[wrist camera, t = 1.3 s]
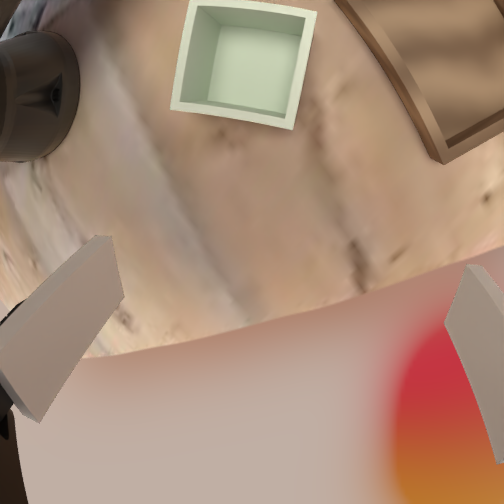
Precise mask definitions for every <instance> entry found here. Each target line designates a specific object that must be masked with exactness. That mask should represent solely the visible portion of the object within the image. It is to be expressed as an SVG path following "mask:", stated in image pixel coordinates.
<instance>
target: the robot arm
mask: <svg viewBox="0 0 504 504" xmlns="http://www.w3.org/2000/svg"><path fill="white" fill-rule="evenodd" d="M21 1H22V0H0V38H1V36H2V34H3V32H4V30H5V28H6V27H7V25H8V23H9V21H10V19H11V18H12V16H13V14H14V12H15V11H16V9H17V7H18V5H19V4H20V2H21ZM79 86H80V80H79V69H78V64H77V60H76V57H75V54H74V52H73V50H72V48H71V46H70V45H69V43H68V42H67V41H66V40H65V39H64V38H63V37H62V36H60V35H58V34H56V33H54V32H48V31H28V32H24V33H22V34H19V35H17V36H15V37H13V38H12V39H9V40H5V41H1V42H0V161H1V162H17V163H25V162H30V161H33V160H35V159H38V158H41V157H43V156H45V155H47V154H49V153H50V152H52V151H53V150H54V149H55V148H56V147H57V146H58V145H59V144H60V143H61V142H62V140H63V139H64V137H65V136H66V134H67V132H68V130H69V128H70V126H71V124H72V121H73V119H74V116H75V112H76V108H77V104H78V98H79ZM123 298H124V293H123V289H122V284H121V280H120V275H119V271H118V266H117V261H116V256H115V251H114V246H113V241H112V236H99V235H95V236H94V237H93V238H92V239H91V240H89V241H88V242H87V243H86V244H85V245H84V246H83V247H81V248H80V249H79V250H78V251H77V252H76V253H75V254H73V255H72V256H71V257H70V258H69V259H68V260H67V261H66V262H65V263H63V264H62V265H61V266H60V267H59V268H58V269H57V270H56V271H55V272H54V273H53V274H52V275H51V276H49V277H48V278H47V279H46V280H45V281H44V282H43V283H42V284H41V285H40V286H39V287H38V288H37V289H36V290H35V291H34V292H33V293H32V294H31V295H30V296H29V297H28V298H27V299H25V300H24V301H22V302H20V303H19V304H17V305H16V306H15V307H14V308H13V309H12V310H11V311H10V312H9V313H8V314H7V315H8V316H7V317H5V318H4V319H3V320H2V321H1V322H0V504H28V500H27V496H26V491H25V487H24V482H23V477H22V472H21V466H20V460H19V454H18V448H17V439H16V431H15V420H14V415H13V412H12V410H11V409H10V408H11V406H12V405H13V403H14V404H15V405H16V407H17V408H18V409H19V410H20V412H21V413H22V414H23V415H24V416H26V417H28V418H30V419H32V420H34V421H36V422H38V423H40V422H41V420H42V419H43V417H44V415H45V414H46V412H47V410H48V409H49V407H50V406H51V404H52V402H53V401H54V399H55V398H56V396H57V394H58V393H59V391H60V390H61V388H62V386H63V385H64V383H65V382H66V380H67V379H68V377H69V376H70V374H71V373H72V371H73V370H74V368H75V366H76V365H77V364H78V362H79V361H80V359H81V358H82V356H83V355H84V353H85V352H86V350H87V349H88V347H89V346H90V344H91V343H92V341H93V340H94V339H95V337H96V336H97V334H98V333H99V331H100V330H101V329H102V327H103V326H104V324H105V323H106V322H107V320H108V319H109V317H110V316H111V315H112V313H113V312H114V310H115V309H116V308H117V306H118V305H119V304H120V302H121V301H122V300H123ZM444 325H445V327H446V329H447V331H448V333H449V335H450V337H451V340H452V342H453V344H454V346H455V349H456V351H457V353H458V355H459V358H460V360H461V362H462V365H463V367H464V369H465V372H466V374H467V377H468V379H469V382H470V384H471V387H472V390H473V392H474V395H475V397H476V400H477V403H478V406H479V409H480V412H481V414H482V417H483V420H484V423H485V426H486V430H487V432H488V436H489V439H490V442H491V446H492V449H493V453H494V456H495V460H496V463H497V464H500V463H504V293H503V292H502V291H501V289H500V288H499V287H498V285H497V284H496V283H495V282H494V280H493V279H492V278H491V276H490V275H489V274H488V273H487V271H486V270H485V269H484V268H483V267H482V266H481V265H471V264H466V267H465V270H464V273H463V276H462V278H461V281H460V284H459V287H458V289H457V292H456V294H455V297H454V300H453V302H452V304H451V307H450V309H449V312H448V314H447V317H446V319H445V321H444Z"/></svg>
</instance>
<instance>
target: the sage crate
mask: <svg viewBox="0 0 504 504" xmlns="http://www.w3.org/2000/svg"><path fill="white" fill-rule="evenodd" d="M316 17H317V12H316V11H311V10H306V9H301V8H296V7H290V6H284V5H278V4H271V3H264V2H255V1H246V0H190V2H189V6H188V10H187V15H186V19H185V24H184V29H183V34H182V39H181V44H180V49H179V55H178V60H177V66H176V72H175V78H174V84H173V91H172V97H171V104H170V110H176V111H185V112H193V113H200V114H207V115H214V116H221V117H227V118H233V119H239V120H244V121H250V122H255V123H260V124H265V125H270V126H275V127H280V128H285V129H289V130H293V127H294V124H295V120H296V115H297V110H298V106H299V101H300V96H301V92H302V87H303V82H304V77H305V73H306V68H307V63H308V58H309V53H310V48H311V44H312V39H313V34H314V28H315V22H316Z"/></svg>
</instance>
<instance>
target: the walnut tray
mask: <svg viewBox="0 0 504 504" xmlns="http://www.w3.org/2000/svg"><path fill="white" fill-rule="evenodd" d="M334 1H335V2H336V4H337V5H338V6H339V7H340V9H341V10H342V11H343V12H344V14H345V15H346V16H347V18H348V19H349V20H350V22H351V23H352V24H353V26H354V27H355V28H356V30H357V31H358V32H359V34H360V35H361V37H362V38H363V39H364V41H365V42H366V44H367V45H368V47H369V48H370V50H371V51H372V53H373V54H374V56H375V57H376V59H377V60H378V62H379V63H380V65H381V66H382V68H383V70H384V71H385V73H386V74H387V76H388V78H389V79H390V81H391V83H392V84H393V86H394V88H395V90H396V91H397V93H398V95H399V97H400V98H401V100H402V102H403V104H404V106H405V107H406V109H407V111H408V113H409V115H410V117H411V119H412V121H413V123H414V124H415V126H416V128H417V130H418V132H419V134H420V137H421V139H422V141H423V143H424V145H425V147H426V149H427V151H428V154H429V156H430V158H432V159H433V160H435V161H437V162H439V163H441V164H443V165H445V164H447V163H449V162H450V161H452V160H454V159H456V158H457V157H459V156H461V155H463V154H464V153H466V152H468V151H470V150H472V149H473V148H475V147H477V146H479V145H480V144H482V143H484V142H486V141H487V140H489V139H491V138H493V137H494V136H496V135H498V134H500V133H501V132H503V131H504V0H334Z"/></svg>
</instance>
